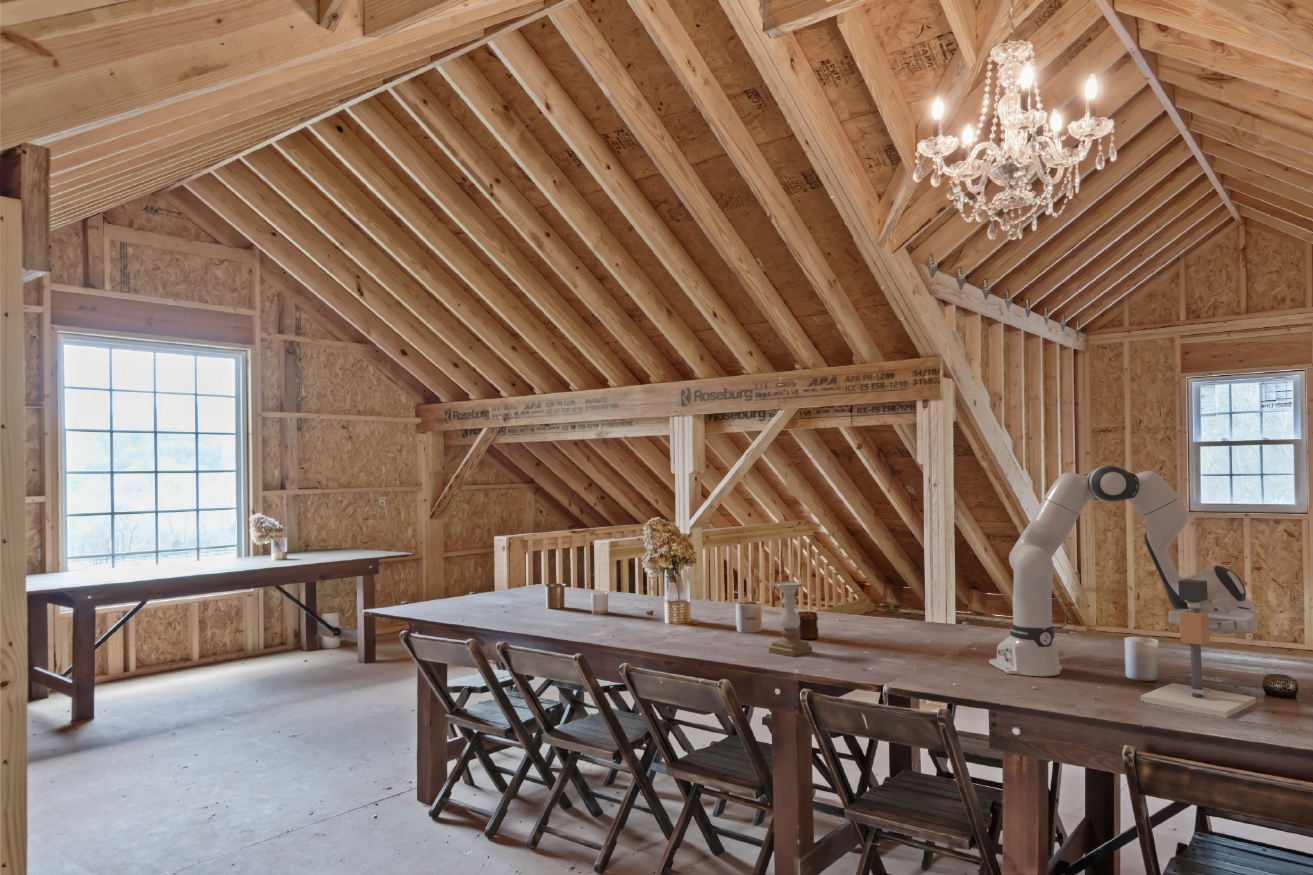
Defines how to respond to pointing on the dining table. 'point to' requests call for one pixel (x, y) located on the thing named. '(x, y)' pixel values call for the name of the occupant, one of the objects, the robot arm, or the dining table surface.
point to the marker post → (1197, 673)
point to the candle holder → (789, 624)
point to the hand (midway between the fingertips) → (1200, 623)
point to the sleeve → (1194, 627)
